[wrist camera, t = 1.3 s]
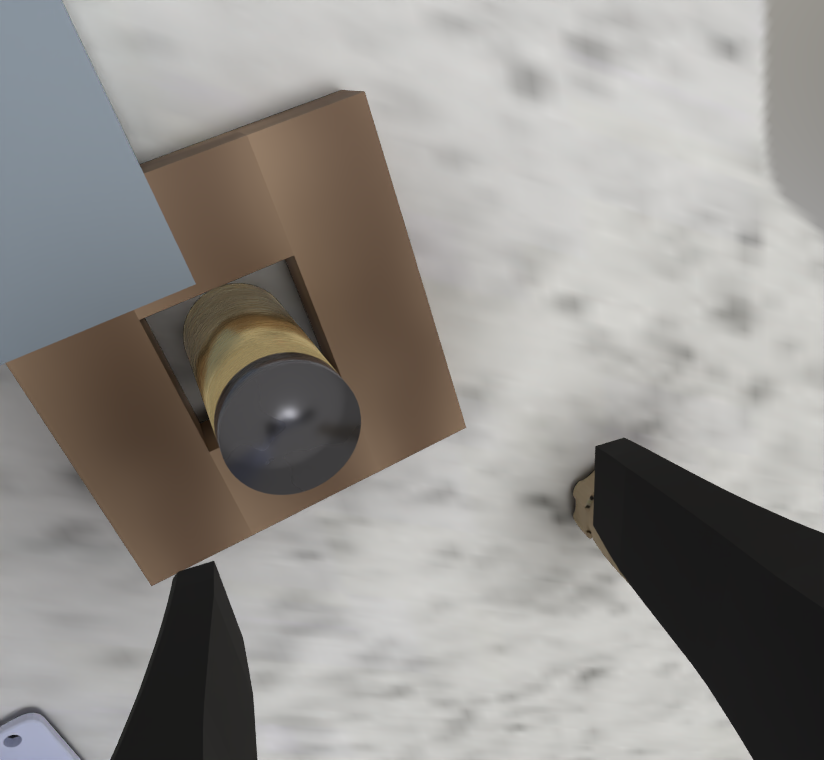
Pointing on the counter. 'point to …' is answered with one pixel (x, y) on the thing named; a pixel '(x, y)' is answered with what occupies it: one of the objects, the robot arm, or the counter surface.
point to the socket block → (69, 192)
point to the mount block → (227, 261)
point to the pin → (269, 392)
